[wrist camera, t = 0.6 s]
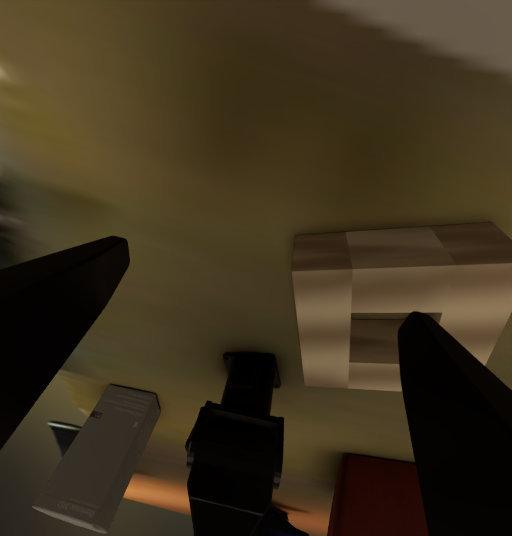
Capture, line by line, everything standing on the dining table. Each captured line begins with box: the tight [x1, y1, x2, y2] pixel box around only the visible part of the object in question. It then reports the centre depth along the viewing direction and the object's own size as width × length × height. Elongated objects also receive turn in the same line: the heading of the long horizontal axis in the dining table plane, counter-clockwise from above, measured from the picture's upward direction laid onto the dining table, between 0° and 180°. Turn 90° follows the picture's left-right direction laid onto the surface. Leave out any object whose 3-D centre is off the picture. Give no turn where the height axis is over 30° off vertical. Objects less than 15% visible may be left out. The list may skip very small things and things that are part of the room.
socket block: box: [292, 222, 512, 391], centre depth 23 cm, size 14×14×5 cm
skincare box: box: [32, 385, 160, 533], centre depth 40 cm, size 8×7×16 cm
